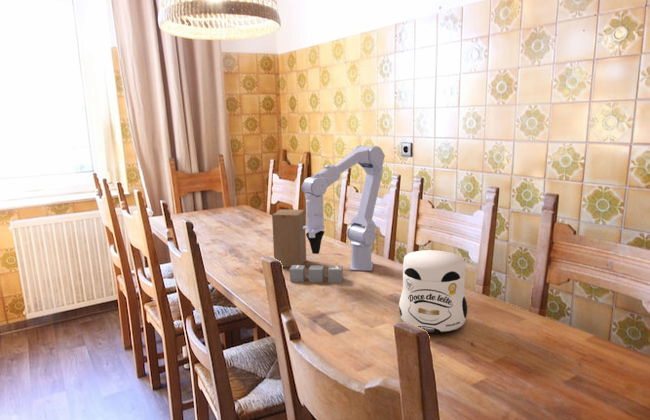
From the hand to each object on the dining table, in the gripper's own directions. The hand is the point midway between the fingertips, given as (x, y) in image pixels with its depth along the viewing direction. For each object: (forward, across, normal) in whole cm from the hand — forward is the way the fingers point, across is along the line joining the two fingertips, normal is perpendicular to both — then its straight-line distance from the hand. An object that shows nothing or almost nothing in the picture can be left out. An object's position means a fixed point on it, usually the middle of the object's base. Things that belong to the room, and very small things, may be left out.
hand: (315, 253), depth 154 cm
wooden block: (+10, -17, -12) cm, 23 cm away
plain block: (+10, 0, 0) cm, 10 cm away
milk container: (+10, +31, +36) cm, 48 cm away
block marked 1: (+10, 0, -6) cm, 12 cm away
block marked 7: (+10, 0, +6) cm, 12 cm away
